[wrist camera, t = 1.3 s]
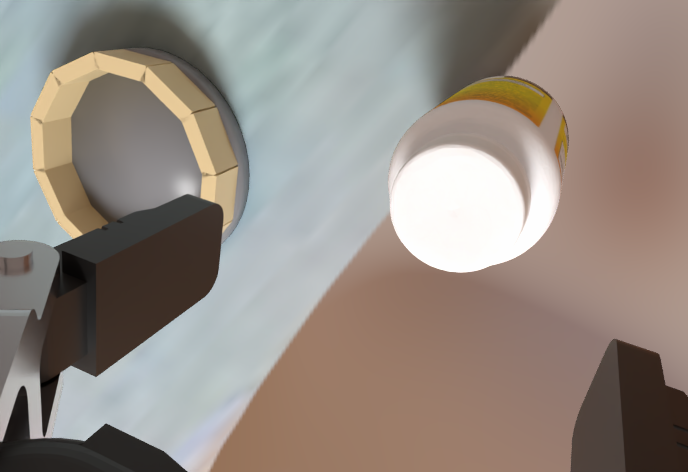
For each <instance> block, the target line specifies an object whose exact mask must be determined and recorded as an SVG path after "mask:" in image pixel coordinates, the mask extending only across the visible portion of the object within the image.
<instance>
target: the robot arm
mask: <svg viewBox="0 0 688 472" xmlns="http://www.w3.org/2000/svg"><path fill="white" fill-rule="evenodd" d="M223 220H224V213H223V209H222V207H221V205H219V204H217V203H214V202H211V201H208V200H205V199H202V198H199V197H196V196H193V195H190V194H185V195H183V196H181V197H178V198H176V199H174V200H172V201H170V202H167V203H165V204H163V205H161V206H158V207H156V208H152V209H147V210H141V211H136V212H133V213H131V214H129V215H126V216H124V217H122V218H120V219H117V222H114V221H113V222H111V223H108V224H106V225H104V226H102V228H101V229H100V228H97V229H95V230H92V231H90V232H88V233H86V234H83V235H81V236H79V237H76V238H74V239H72V240H70V241H67V242H65V243H63V244H61V245H58V246H56V247H54V248H53V247H51V246H49V245H46V244H44V243H40V242H35V241H27V240H11V241H2V242H0V472H187V471H186V470H185V469H184V468H182V467H181V466H180V465H179V464H178V463H177V462H176V461H174V460H173V459H172V458H171V457H170V456H169V455H167V454H166V453H165V452H164V451H162V450H160V449H158V448H156V447H154V446H151V445H149V444H147V443H145V442H143V441H141V440H139V439H137V438H135V437H133V436H131V435H129V434H127V433H125V432H122V431H120V430H118V429H116V428H114V427H112V426H110V425H108V424H105V425H104V426H102V427H101V428H100V429H99V430H98V431H97V432H95V433H94V434H93V435H92V436H91V437H90V438H88V439H87V440H86V441H81V440H73V439H64V438H52V434H53V429H54V425H55V420H56V416H57V411H58V406H59V402H60V397H61V393H62V388H63V370H65V369H66V368H68V367H69V366H73V367H76V368H78V369H80V370H82V371H84V372H86V373H89V374H91V375H93V376H95V377H97V376H98V375H99V374H101V373H102V372H103V371H105V370H106V369H108V368H109V367H110V366H112V365H113V364H114V363H116V362H117V361H118V360H120V359H121V358H122V357H124V356H125V355H127V354H128V353H129V352H131V351H132V350H133V349H135V348H136V347H137V346H139V345H140V344H141V343H143V342H144V341H146V340H147V339H148V338H150V337H151V336H152V335H154V334H155V333H156V332H158V331H159V330H160V329H162V328H163V327H164V326H166V325H167V324H169V323H170V322H171V321H173V320H174V319H175V318H177V317H178V316H179V315H181V314H182V313H183V312H185V311H186V310H188V309H189V308H190V307H192V306H193V305H194V304H196V303H197V302H198V301H200V300H201V299H202V298H204V297H205V296H206V295H207V294H208V293H209V292H210V290H211V289H212V287H213V285H214V283H215V281H216V278H217V275H218V270H219V260H220V250H221V240H222V230H223ZM571 472H688V397H687V395H686V394H685V393H684V392H683V391H680V390H677V389H674V388H671V387H668V386H666V385H665V380H664V375H663V370H662V365H661V359H660V356H659V354H658V353H656V352H653V351H650V350H647V349H644V348H641V347H638V346H635V345H632V344H629V343H626V342H623V341H620V340H617V339H613V340H612V341H611V342H610V344H609V346H608V348H607V350H606V351H605V354H604V356H603V358H602V361H601V363H600V365H599V367H598V370H597V372H596V374H595V376H594V379H593V381H592V383H591V386H590V388H589V390H588V392H587V395H586V397H585V399H584V401H583V404H582V406H581V409H580V411H579V414H578V417H577V420H576V424H575V428H574V432H573V438H572V454H571Z"/></svg>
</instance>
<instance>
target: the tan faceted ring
mask: <svg viewBox="0 0 688 472" xmlns="http://www.w3.org/2000/svg"><path fill="white" fill-rule="evenodd" d="M30 118H31V136H32V155H33V169H34V170H35V171H34V173H35V175H36V177H37V179H38V182H39V184H40V186H41V188H42V190H43V193H44V195H45V197H46V199H47V201H48V204H49V206H50V208H51V210H52V212H53V215H54V217H55V219H56V221H58V224H59V225H60V226H61V227H62V228H63V229H64V230H65V231H66V232H67V233H68V234H69V235H70V236H71V237H72V238H73V239H74V238H76V237H79V236H81V235H83V234H86V233H88V232H90V231H92V230H95V229H97V228H100V229H101V228H102V226H104V225H106V224H108V223H111V222H113V221H114V222H117V219H120V218H122V217H124V216H126V215H129V214H131V213H133V212H136V211H141V210H147V209H152V208H156V207H158V206H161V205H163V204H165V203H167V202H170V201H172V200H174V199H176V198H178V197H181V196H183V195H185V194H190V195H193V196H196V197H199V198H202V199H205V200H208V201H211V202H214V203H217V204H219V205H221V207H222V209H223V213H224V220H223V230H222V240H221V244H222V243H223V242H224V241H225V240H226V239H227V238H228V237H229V236H230V235H231V234H232V232H233V231H234V229H235V228H236V226H237V225H238V223H239V221H240V219H241V217H242V214H243V211H244V208H245V205H246V202H247V196H248V190H249V164H248V157H247V151H246V146H245V143H244V139H243V136H242V133H241V130H240V128H239V125H238V123H237V121H236V118H235V116H234V114H233V113H232V111H231V109H230V107H229V105H228V104H227V102H226V101H225V99H224V98H223V97H222V95H221V94H220V92H219V91H218V90H217V89H216V87H215V86H214V85H213V84H212V83H211V82H210V81H209V80H208V79H207V78H206V77H205V76H204V75H203V74H202V73H201V72H200V71H198V70H197V69H196V68H195V67H193V66H192V65H190V64H189V63H187V62H186V61H184V60H182V59H180V58H178V57H176V56H175V55H173V54H170V53H167V52H164V51H161V50H157V49H151V48H126V49H117V50H107V51H96V52H91V53H89V54H87V55H85V56H83V57H81V58H78V59H76V60H74V61H72V62H70V63H68V64H66V65H63V66H61V67H59V68H57V69H55V70H53V71H52V72H51V73H50V75H49V77H48V79H47V81H46V83H45V85H44V88H43V90H42V92H41V94H40V96H39V98H38V100H37V102H36V105H35V107H34V109H33V111H32V113H31V116H30Z"/></svg>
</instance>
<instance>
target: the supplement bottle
mask: <svg viewBox="0 0 688 472" xmlns="http://www.w3.org/2000/svg"><path fill="white" fill-rule="evenodd" d="M568 143H569V137H568V128H567V124H566V120H565V117H564V115H563V113H562V110H561V109H560V107H559V105H558V104H557V102H556V101H555V100H554V99H553V98H552V96H551V95H550V94H549V93H548V92H546V91H545V90H544V89H543V88H541V87H540V86H538V85H536V84H535V83H532V82H530V81H528V80H525V79H522V78H518V77H513V76H494V77H488V78H485V79H481V80H479V81H476V82H474V83H472V84H470V85H468V86H466V87H465V88H463V89H462V90H460V91H459V92H457V93H456V94H454V95H453V96H451V97H450V98H448V99H447V100H445V101H444V102H442V103H441V104H439V105H438V106H437V107H435V108H434V109H432V110H431V111H429V112H428V113H426V114H425V115H423V116H422V117H421V118H420V119H418V120H417V121H416V122H415V123H414V124H413V125H412V126H411V127H410V128H409V129H408V130H407V131H406V132H405V134H404V135H403V137H402V138H401V140H400V141H399V143H398V145H397V147H396V149H395V151H394V153H393V156H392V159H391V163H390V168H389V175H388V190H389V197H390V214H391V218H392V223H393V225H394V228H395V231H396V233H397V235H398V236H399V238H400V240H401V242H402V243H403V244H404V245H405V247H406V248H407V249H408V250H409V251H410V252H411V253H412V254H413V255H414V256H416V257H417V258H418V259H420V260H421V261H423V262H425V263H426V264H428V265H430V266H433V267H435V268H438V269H441V270H445V271H450V272H471V271H476V270H480V269H483V268H486V267H488V266H490V265H495V264H499V263H502V262H505V261H508V260H510V259H513V258H515V257H517V256H519V255H520V254H522V253H524V252H525V251H526V250H528V249H529V248H530V247H532V246H533V245H534V244H535V243H536V242H537V241H538V240H539V239H540V238H541V237H542V235H543V234H544V233H545V231H546V230H547V228H548V227H549V225H550V224H551V221H552V220H553V218H554V215H555V213H556V210H557V207H558V204H559V199H560V194H561V189H562V182H563V176H564V171H565V165H566V159H567V152H568Z"/></svg>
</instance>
